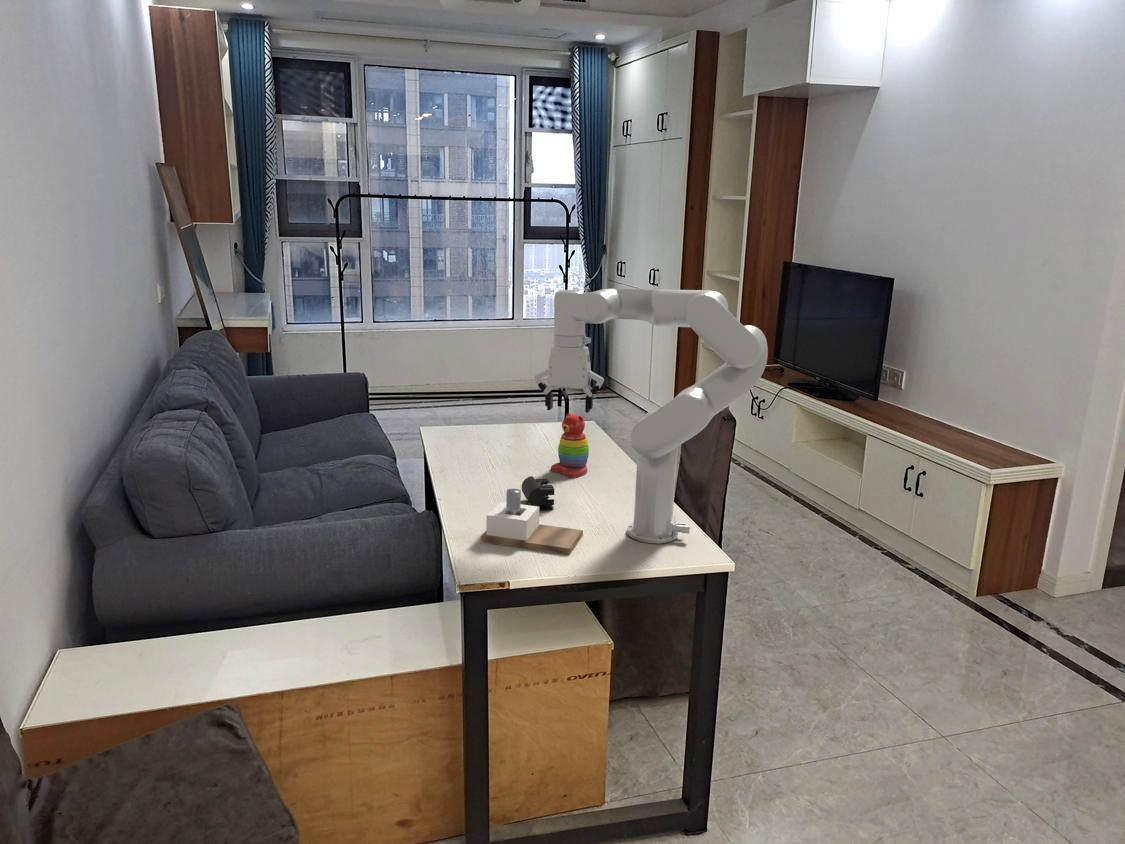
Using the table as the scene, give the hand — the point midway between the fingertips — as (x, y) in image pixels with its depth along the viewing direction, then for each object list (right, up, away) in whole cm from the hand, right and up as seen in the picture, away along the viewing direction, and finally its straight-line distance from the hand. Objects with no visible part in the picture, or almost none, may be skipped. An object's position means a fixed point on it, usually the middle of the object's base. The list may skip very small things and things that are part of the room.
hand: (568, 410), depth 206 cm
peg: (-14, -29, -4) cm, 32 cm away
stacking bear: (+1, -18, +48) cm, 51 cm away
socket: (-14, -29, -4) cm, 32 cm away
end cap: (-8, -26, +18) cm, 33 cm away
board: (-9, -31, -5) cm, 33 cm away
